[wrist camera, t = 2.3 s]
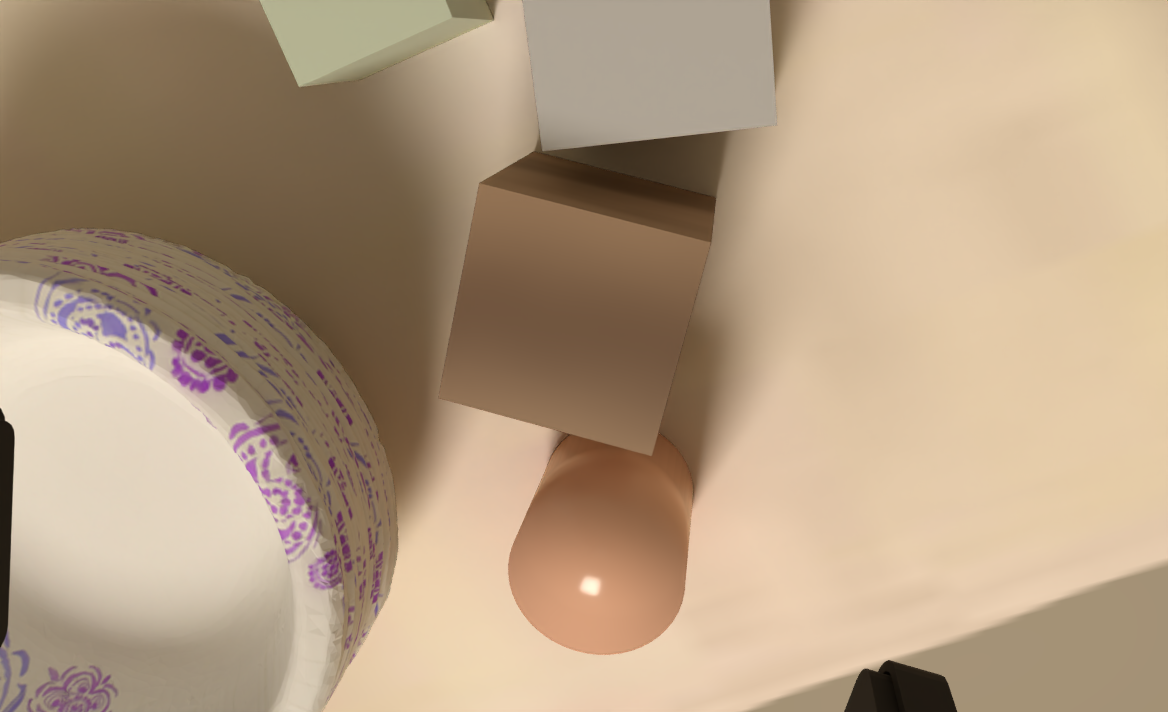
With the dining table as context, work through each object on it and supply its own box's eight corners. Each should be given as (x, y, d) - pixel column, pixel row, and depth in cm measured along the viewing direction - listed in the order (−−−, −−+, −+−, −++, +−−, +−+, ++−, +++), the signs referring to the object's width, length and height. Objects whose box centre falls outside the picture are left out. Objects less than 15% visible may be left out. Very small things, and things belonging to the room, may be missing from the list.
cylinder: (562, 403, 28) (527, 476, 24) (710, 443, 28) (705, 525, 23) (531, 533, 30) (492, 627, 25) (671, 572, 29) (659, 674, 25)
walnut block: (534, 151, 26) (479, 182, 21) (716, 197, 26) (710, 242, 20) (498, 324, 28) (438, 397, 22) (668, 370, 28) (651, 456, 22)
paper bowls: (513, 356, 28) (433, 472, 21) (330, 730, 33) (213, 931, 26) (37, 112, 28) (-218, 140, 20) (-72, 527, 33) (-307, 670, 26)
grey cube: (552, -73, 24) (509, -100, 20) (755, -104, 24) (760, -139, 19) (577, 130, 26) (542, 151, 21) (769, 108, 25) (777, 125, 20)
